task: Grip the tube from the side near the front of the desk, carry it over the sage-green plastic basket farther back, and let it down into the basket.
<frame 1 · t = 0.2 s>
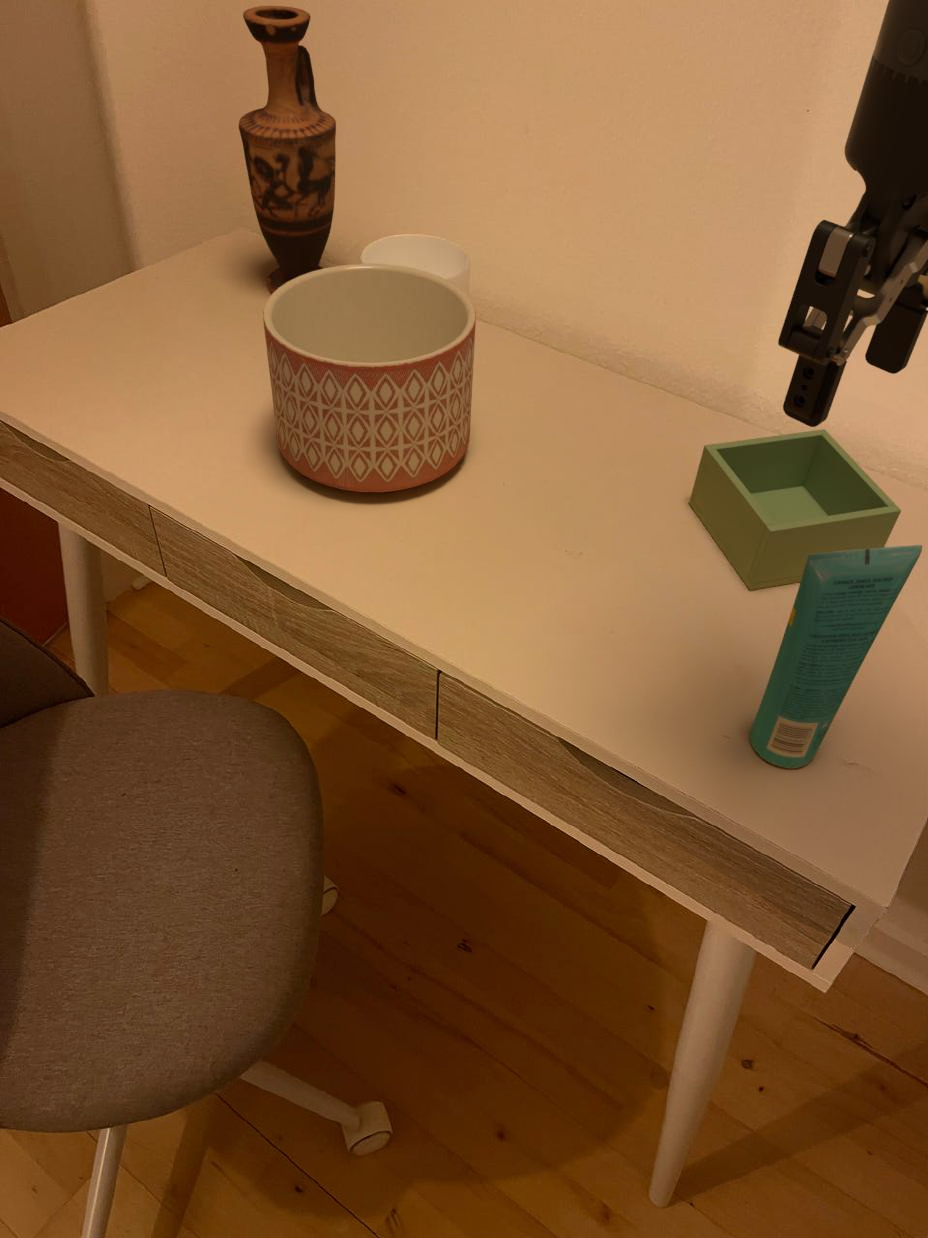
hand: (844, 391, 51), 29 cm above the table, tool pointing down, fingers open, 8 cm apart
basket: (778, 535, 88), on the table
vase: (301, 288, 120), on the table
planter: (374, 447, 96), on the table
tube: (779, 744, 71), on the table
cup: (414, 360, 108), on the table
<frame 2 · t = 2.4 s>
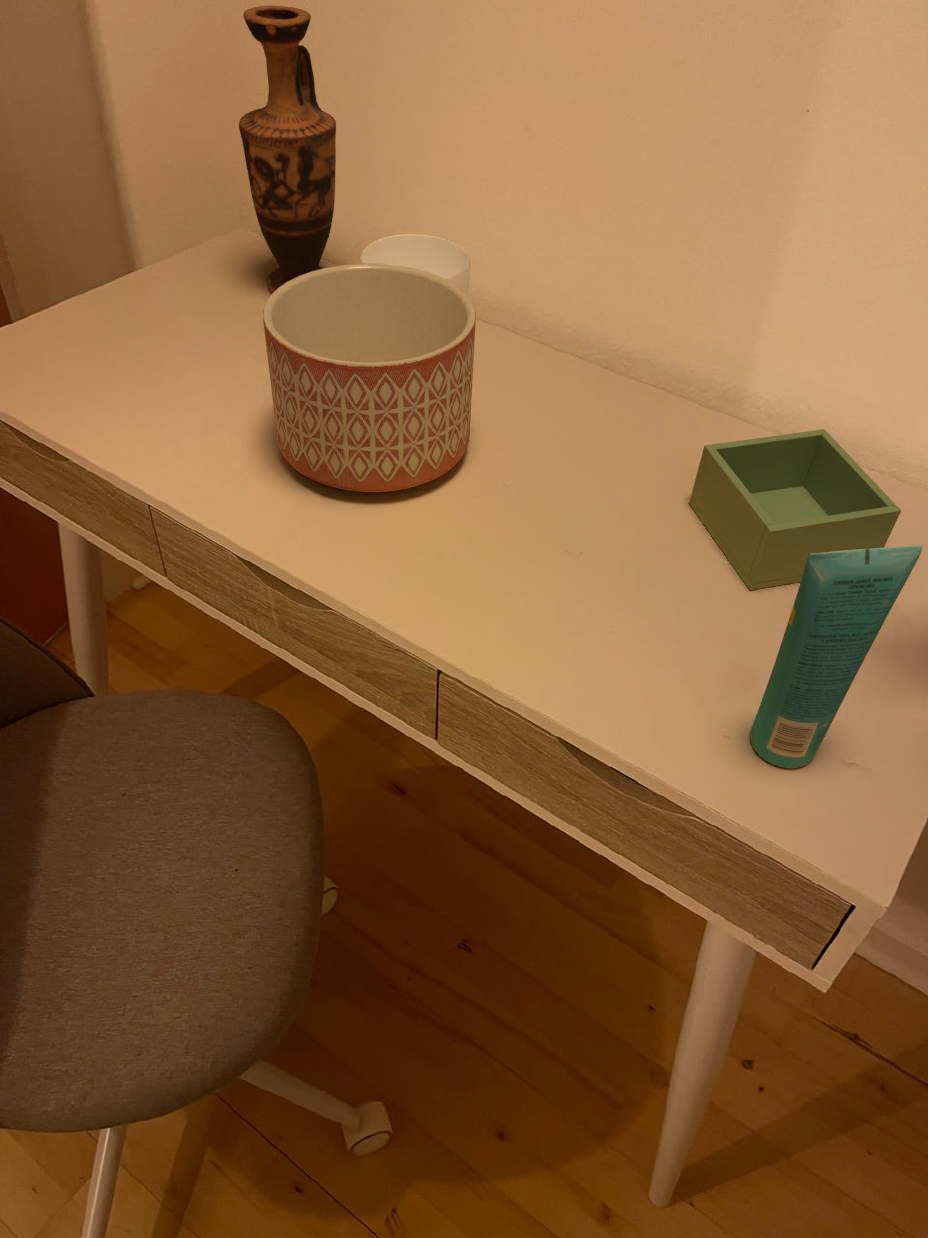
nothing on the table moved.
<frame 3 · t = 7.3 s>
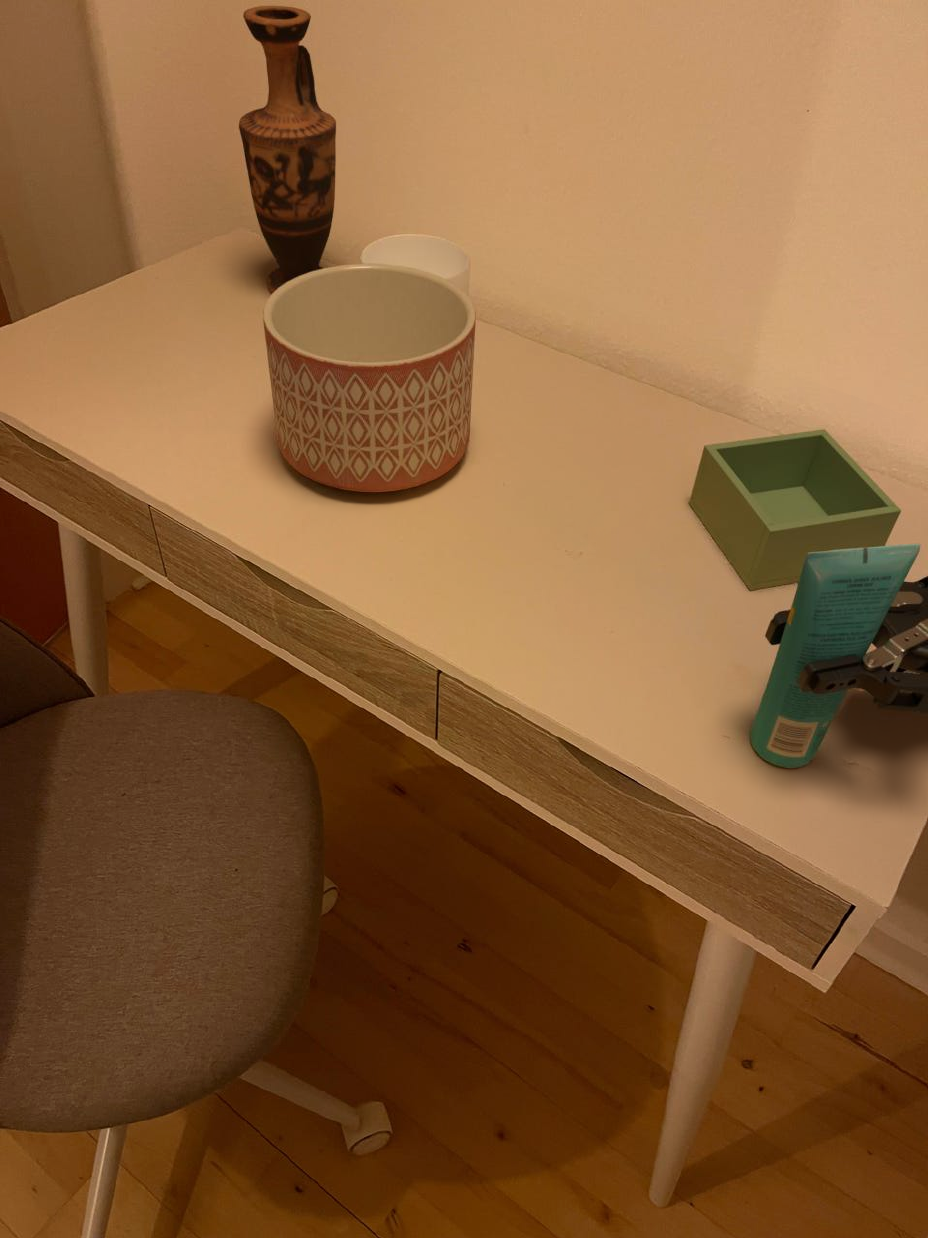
hand: (787, 654, 63), 11 cm above the table, tool horizontal, fingers closed on tube, 3 cm apart
tube: (779, 744, 71), on the table, touching gripper
everything else where it was.
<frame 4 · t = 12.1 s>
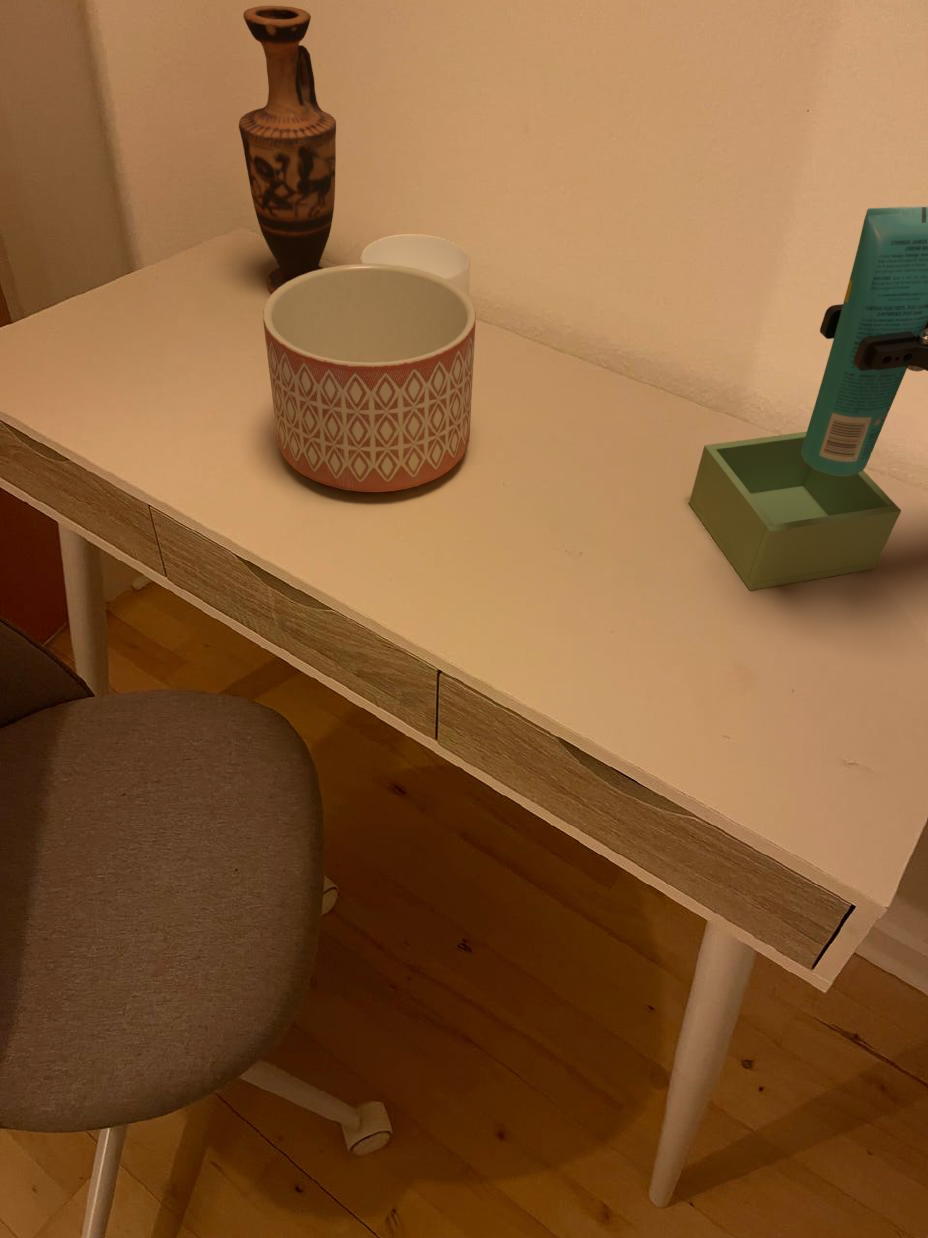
hand: (843, 338, 64), 25 cm above the table, tool horizontal, fingers closed on tube, 3 cm apart
tube: (830, 460, 73), point 14 cm above the table, touching gripper
everything else where it was.
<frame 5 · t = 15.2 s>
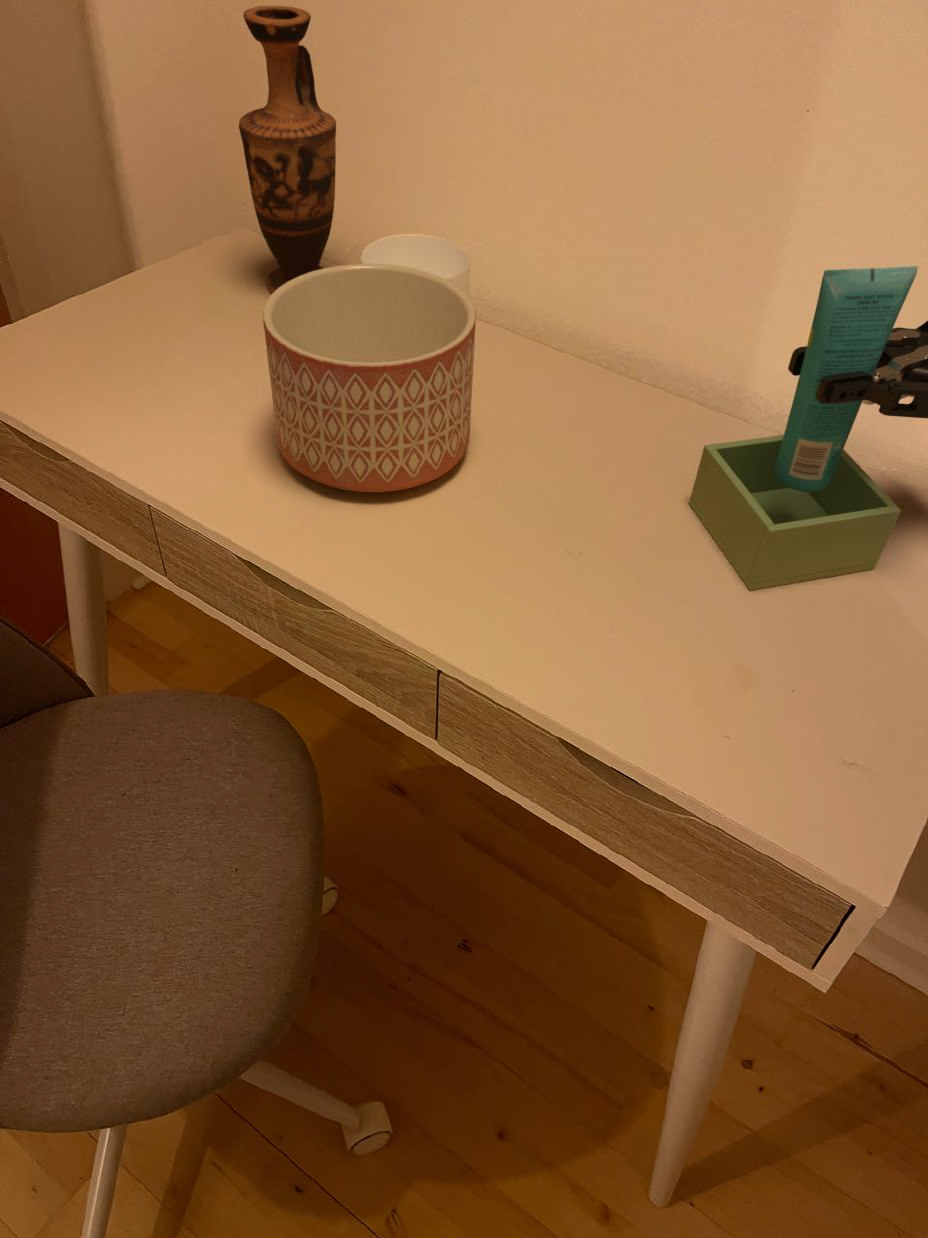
hand: (807, 376, 76), 17 cm above the table, tool horizontal, fingers closed on tube, 3 cm apart
tube: (799, 478, 84), point 6 cm above the table, touching gripper
everything else where it was.
when the fingers open (11 cm above the table, at t = 17.2 s): tube stays where it is, resting on basket.
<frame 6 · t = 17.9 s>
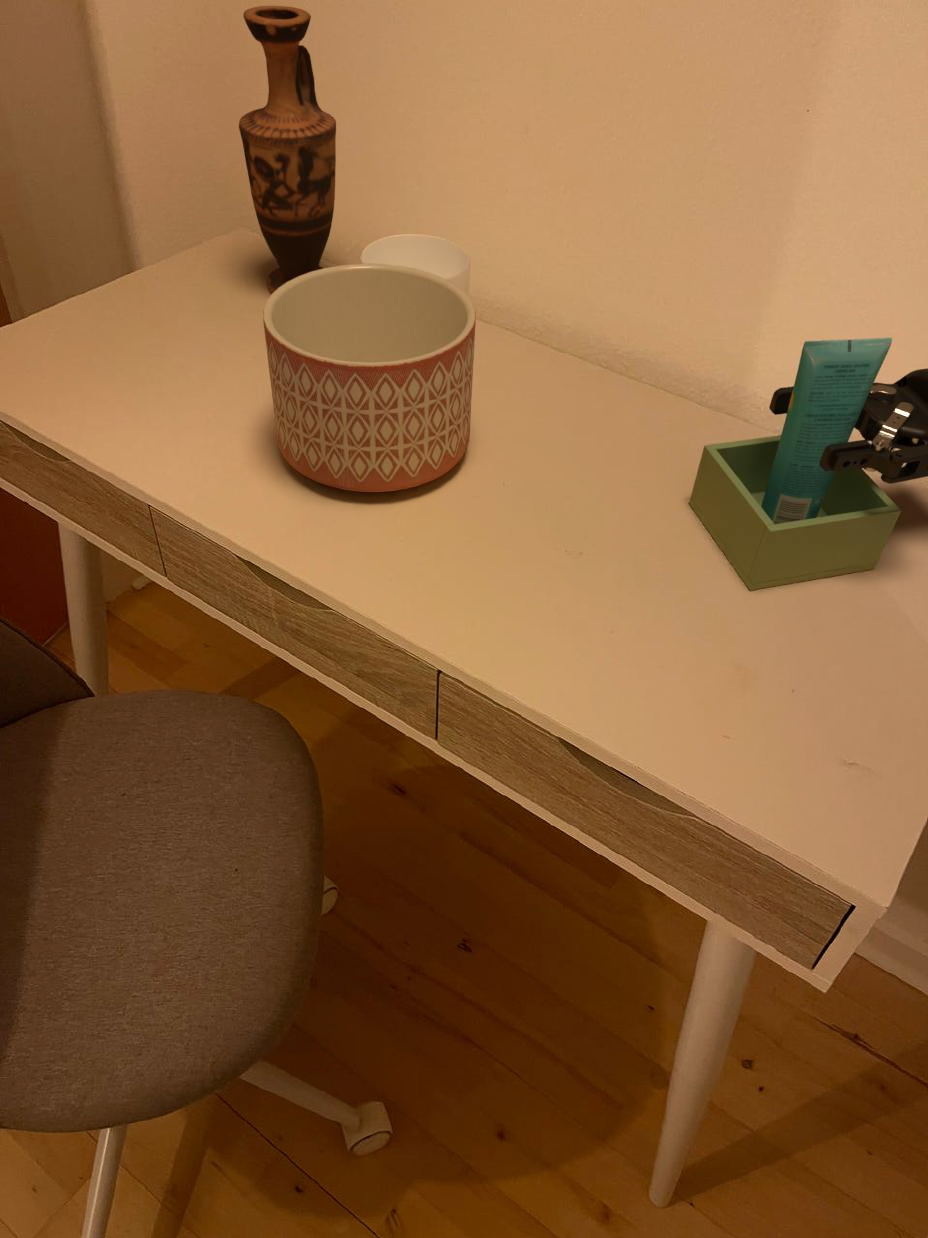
hand: (797, 429, 79), 12 cm above the table, tool horizontal, fingers open, 8 cm apart
tube: (780, 528, 88), point 1 cm above the table, touching basket
everything else where it was.
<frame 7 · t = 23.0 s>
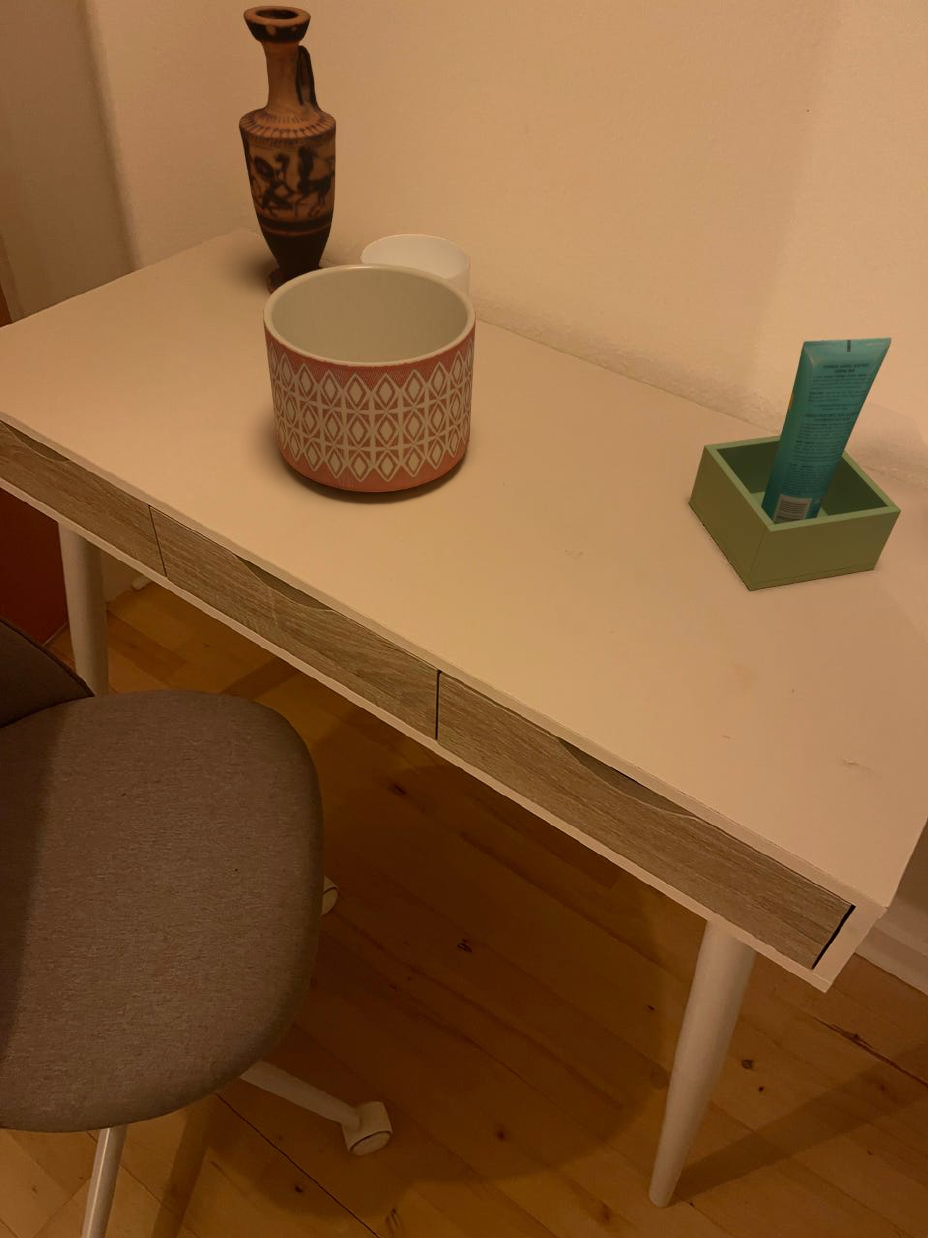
nothing on the table moved.
at the end: tube inside the target area in the basket (0.2 cm from its centre), point 0.6 cm above the basket's base; the gripper is holding nothing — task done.
